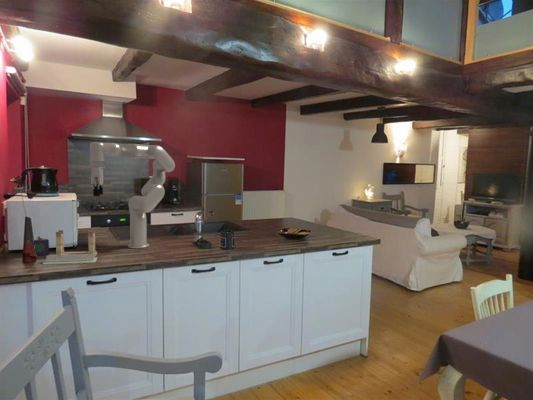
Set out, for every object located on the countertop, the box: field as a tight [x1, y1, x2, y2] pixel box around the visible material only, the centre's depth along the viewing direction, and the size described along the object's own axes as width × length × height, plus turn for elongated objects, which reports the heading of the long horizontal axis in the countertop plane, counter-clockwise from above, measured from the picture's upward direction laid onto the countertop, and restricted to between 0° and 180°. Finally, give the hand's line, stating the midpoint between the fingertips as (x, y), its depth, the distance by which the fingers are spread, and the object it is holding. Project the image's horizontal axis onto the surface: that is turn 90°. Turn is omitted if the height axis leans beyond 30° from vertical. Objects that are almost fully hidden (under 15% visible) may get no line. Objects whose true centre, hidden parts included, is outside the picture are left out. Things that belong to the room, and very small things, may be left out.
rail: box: [45, 254, 95, 262], centre depth 192 cm, size 3×22×3 cm, turn 104°
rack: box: [55, 229, 98, 258], centre depth 203 cm, size 6×20×14 cm, turn 105°
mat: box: [41, 256, 98, 266], centre depth 192 cm, size 9×24×1 cm, turn 105°
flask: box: [33, 235, 50, 257], centre depth 201 cm, size 9×3×11 cm, turn 117°
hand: (98, 195), depth 206 cm, fingers open, 9 cm apart
